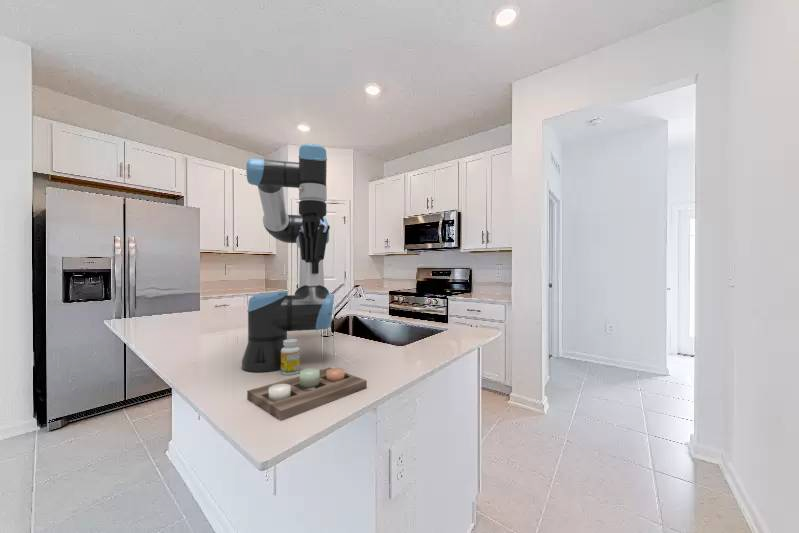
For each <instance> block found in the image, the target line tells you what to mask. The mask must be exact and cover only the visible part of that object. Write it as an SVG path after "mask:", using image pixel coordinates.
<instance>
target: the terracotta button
mask: <svg viewBox="0 0 799 533" xmlns="http://www.w3.org/2000/svg"><path fill="white" fill-rule="evenodd" d="M331 368H332V367H331ZM345 373H346V372H345V369H344V368H340V367H333V368H332V369H329V370H327V371H326V380H327V381H330V382H332V383H334V382H337V381H340V380H343V379H345Z"/></svg>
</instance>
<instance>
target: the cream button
mask: <svg viewBox="0 0 799 533" xmlns="http://www.w3.org/2000/svg"><path fill="white" fill-rule="evenodd" d="M289 397H291V386H290V385H289V384H276V385H273V386H271V387H269V400H270V401H272V402H277V401H280V400H283V399H286V398H289Z"/></svg>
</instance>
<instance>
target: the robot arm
mask: <svg viewBox="0 0 799 533" xmlns="http://www.w3.org/2000/svg"><path fill="white" fill-rule="evenodd" d="M327 161H328V158H327V150H326V148H325V147H324V146H322V145H320V144H318V143H317V144H316V143H304V144H301V145H300V146H299V150H298V162H296V161H294V162H293V161H284V160H283V161H282V160H273V159H272V160H271V159H264V158H249V159H247V161H246V167H245V168H246V180H247V182H248V184H250V185H252V186H255V187H256V186H257V188H258V195H259V198H260V202H261V207H262V212H263V214H264V215H263V217H262V223H263V226H264V229H265V230H266V232H268V233H269V235H270V236H272V237H273V238H274V239H276V240H278V241H279V242H283V243H287V244H296V246H297V248H299V281H298V282H299V287H297V289H296V290H295V291H294V294H292V295H289V293H288V291H286V290H281V291H279V290H278V291H271V292H265V293H259V294H256V295H252V296H250V298H249V299H248V303H247V304H248V307H247V344H246V347H245V350H244V354H243V356H242V359H241V369H242V370H244V371H246V372H250V373H251V372H253V373H263V372H264V373H267V372H273V371H278V370H281V349H282V348H283V347H284V345H283V341H284V340H287V339H288V332H296V331H297V332H300V331H302V332H303V331H319V330H327V329H329V328H330V327H331V326H332V319H333V309H334V299H335V298H334V297H335V296H334V294H332V293H330V291H329V289H328V288H327V287H325V276H324V275H325V274H324V259H325V255H326V248H327V244H328V243H329V240H330V227H331V225H329V224H328V220H327V218H326V216H327V203H326V201H327V200H328V198H327V197H328V196H327V192H328V191H327V166H328V165H327ZM284 188H295V189H298V199H299V202H298V214H288V213H287V212H286V204H285V194H284Z"/></svg>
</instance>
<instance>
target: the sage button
mask: <svg viewBox="0 0 799 533" xmlns="http://www.w3.org/2000/svg"><path fill="white" fill-rule="evenodd" d="M320 370H321V369H318V368H315V367H313V368H312V367H311V368H304V369H302V370H300V371H299V376H300V386H303V387H311V388H313V387H312V386H316V385H318V384H319V383H320Z"/></svg>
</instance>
